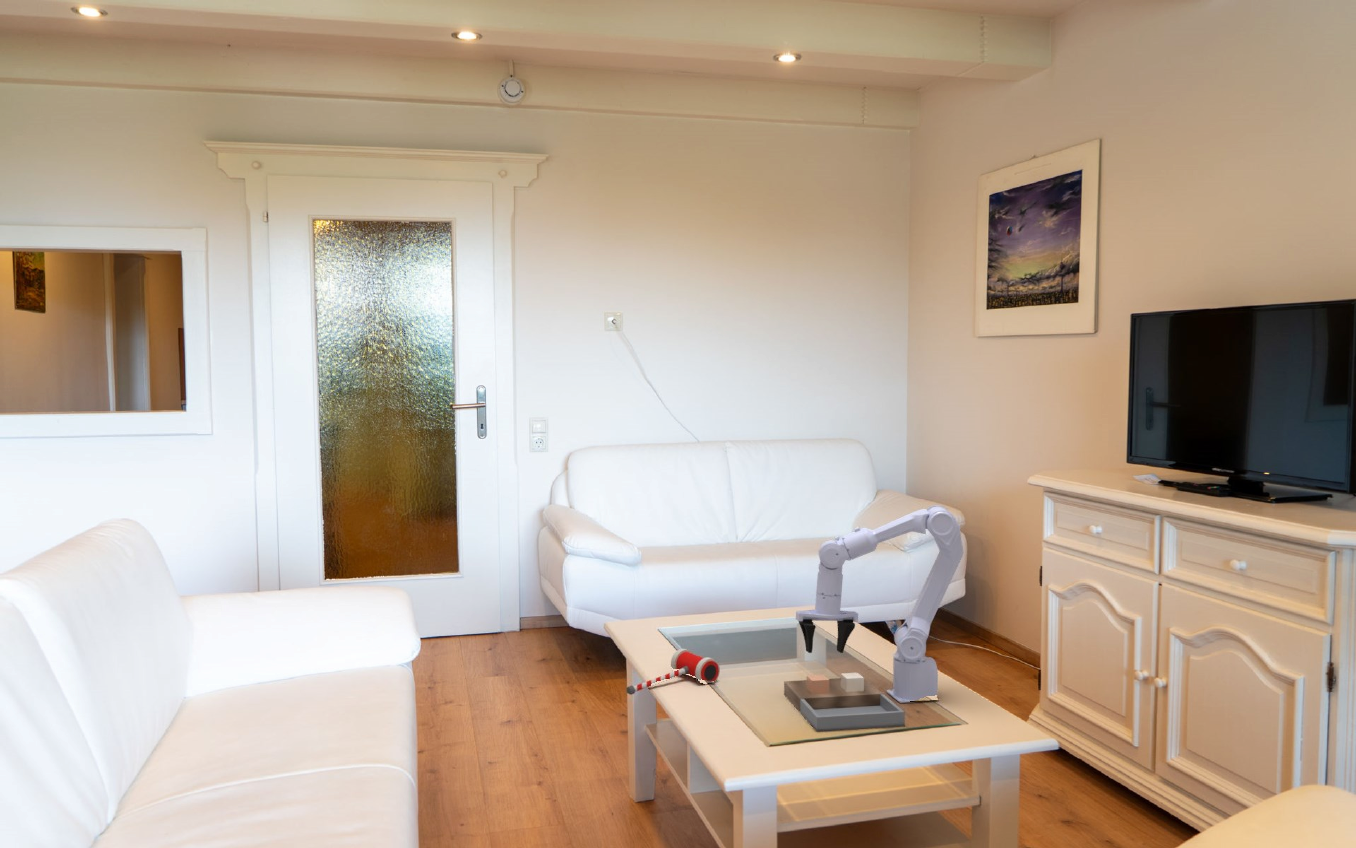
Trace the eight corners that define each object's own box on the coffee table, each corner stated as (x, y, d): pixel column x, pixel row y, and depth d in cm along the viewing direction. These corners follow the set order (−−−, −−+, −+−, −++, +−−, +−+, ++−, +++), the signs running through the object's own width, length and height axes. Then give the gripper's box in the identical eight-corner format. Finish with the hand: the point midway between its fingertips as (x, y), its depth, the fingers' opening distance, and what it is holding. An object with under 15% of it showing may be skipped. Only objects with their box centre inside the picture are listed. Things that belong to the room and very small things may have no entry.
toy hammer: (643, 702, 218) (643, 674, 218) (614, 689, 228) (614, 662, 227) (720, 683, 232) (720, 656, 232) (690, 671, 241) (690, 646, 241)
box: (883, 707, 213) (883, 694, 213) (904, 726, 201) (904, 712, 201) (800, 712, 210) (800, 699, 209) (816, 731, 198) (816, 717, 198)
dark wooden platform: (862, 689, 225) (862, 677, 225) (883, 707, 213) (883, 693, 213) (784, 694, 222) (784, 681, 222) (799, 712, 210) (799, 698, 210)
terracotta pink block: (823, 687, 217) (823, 674, 217) (829, 693, 213) (829, 679, 213) (806, 688, 217) (806, 675, 217) (812, 694, 213) (812, 680, 213)
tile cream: (857, 685, 219) (857, 672, 219) (863, 691, 215) (863, 677, 215) (840, 686, 218) (840, 673, 218) (846, 692, 214) (846, 678, 214)
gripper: (851, 589, 227) (846, 646, 228) (793, 588, 224) (788, 646, 224) (863, 596, 220) (859, 655, 221) (803, 596, 217) (799, 655, 218)
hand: (824, 651), depth 222 cm, fingers open, 7 cm apart
